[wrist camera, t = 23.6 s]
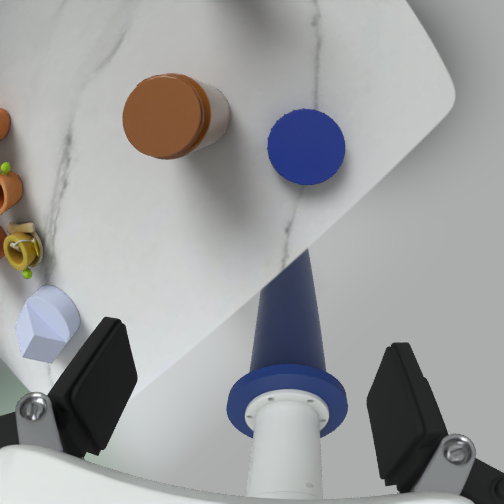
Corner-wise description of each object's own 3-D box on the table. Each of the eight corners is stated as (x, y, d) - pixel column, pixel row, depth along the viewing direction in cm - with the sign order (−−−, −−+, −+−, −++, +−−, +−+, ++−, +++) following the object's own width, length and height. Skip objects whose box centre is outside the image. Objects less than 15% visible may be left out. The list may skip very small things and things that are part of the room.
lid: (254, 128, 30) (253, 129, 28) (322, 97, 28) (325, 96, 26) (287, 193, 32) (288, 198, 31) (353, 164, 31) (357, 167, 29)
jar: (242, 128, 30) (223, 132, 21) (185, 159, 32) (144, 179, 22) (210, 71, 28) (178, 52, 18) (155, 105, 30) (103, 104, 20)
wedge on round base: (60, 351, 46) (88, 316, 42) (42, 376, 40) (66, 343, 36) (25, 316, 44) (46, 274, 40) (3, 337, 38) (19, 296, 34)
